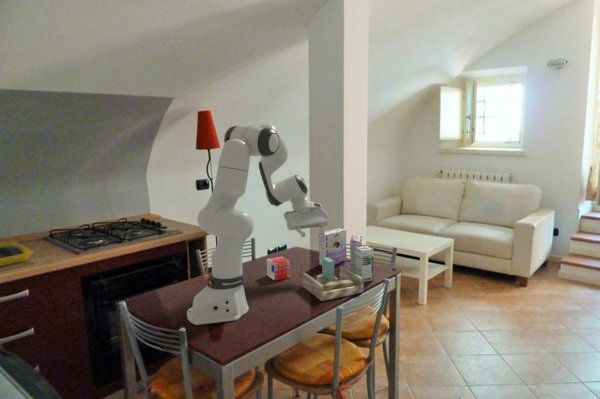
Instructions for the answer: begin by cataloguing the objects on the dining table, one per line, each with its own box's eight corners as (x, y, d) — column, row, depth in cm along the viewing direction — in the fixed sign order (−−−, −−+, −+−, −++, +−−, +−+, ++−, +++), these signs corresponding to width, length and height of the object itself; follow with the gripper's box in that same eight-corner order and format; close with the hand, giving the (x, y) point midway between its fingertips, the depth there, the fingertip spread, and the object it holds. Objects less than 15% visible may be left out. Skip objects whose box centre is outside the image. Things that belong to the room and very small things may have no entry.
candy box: (338, 258, 216) (338, 227, 214) (346, 261, 212) (346, 229, 209) (318, 264, 208) (318, 232, 205) (326, 267, 203) (326, 234, 200)
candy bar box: (351, 268, 201) (351, 234, 199) (362, 268, 200) (362, 235, 198) (349, 276, 191) (349, 240, 188) (361, 276, 190) (361, 241, 187)
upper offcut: (325, 291, 168) (325, 285, 167) (322, 288, 171) (322, 282, 171) (353, 288, 171) (353, 282, 171) (349, 284, 174) (349, 279, 174)
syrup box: (361, 282, 182) (361, 250, 180) (355, 278, 188) (355, 246, 185) (373, 280, 184) (373, 248, 182) (367, 276, 189) (367, 245, 187)
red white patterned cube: (290, 277, 191) (289, 260, 190) (274, 280, 187) (273, 263, 186) (282, 272, 198) (282, 256, 197) (267, 275, 194) (266, 259, 193)
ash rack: (321, 300, 164) (321, 286, 163) (302, 286, 179) (302, 273, 178) (363, 292, 171) (363, 278, 170) (342, 279, 187) (342, 266, 186)
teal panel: (329, 289, 175) (328, 261, 173) (322, 284, 181) (322, 257, 179) (334, 288, 176) (334, 260, 174) (327, 283, 182) (327, 257, 180)
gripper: (284, 208, 188) (293, 233, 181) (324, 203, 197) (335, 228, 189) (280, 216, 193) (289, 241, 186) (320, 211, 201) (330, 235, 194)
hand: (313, 234), depth 188 cm, fingers open, 8 cm apart
